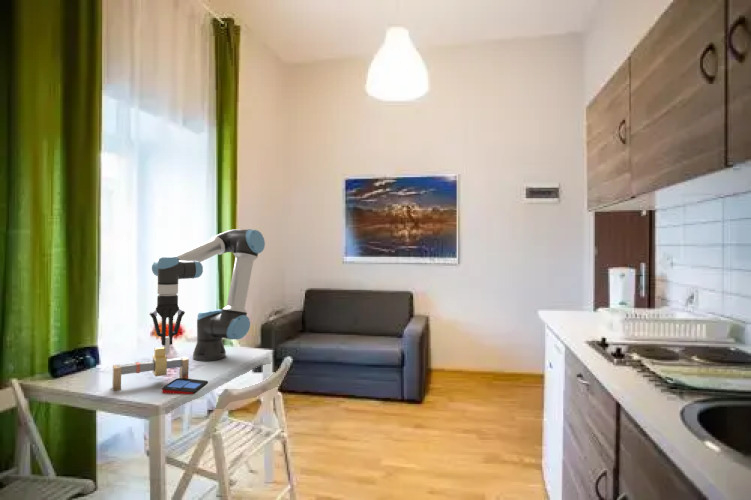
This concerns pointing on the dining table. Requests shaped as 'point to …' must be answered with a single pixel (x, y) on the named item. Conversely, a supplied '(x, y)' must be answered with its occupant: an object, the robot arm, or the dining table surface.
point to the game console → (184, 386)
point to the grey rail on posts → (147, 369)
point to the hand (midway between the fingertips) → (166, 352)
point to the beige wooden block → (160, 362)
